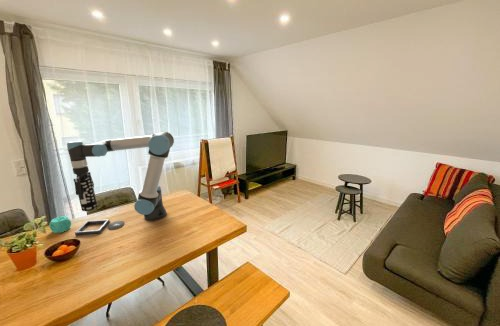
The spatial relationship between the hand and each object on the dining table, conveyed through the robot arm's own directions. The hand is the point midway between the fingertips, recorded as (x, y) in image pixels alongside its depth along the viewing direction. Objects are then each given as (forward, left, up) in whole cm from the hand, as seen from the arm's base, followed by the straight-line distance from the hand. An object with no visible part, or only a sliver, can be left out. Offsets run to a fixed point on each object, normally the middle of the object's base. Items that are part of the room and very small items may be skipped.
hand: (88, 200), depth 139 cm
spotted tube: (0, 0, -6) cm, 6 cm away
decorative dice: (+20, -2, -21) cm, 29 cm away
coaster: (-13, -2, -21) cm, 24 cm away
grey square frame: (0, 0, -21) cm, 21 cm away
